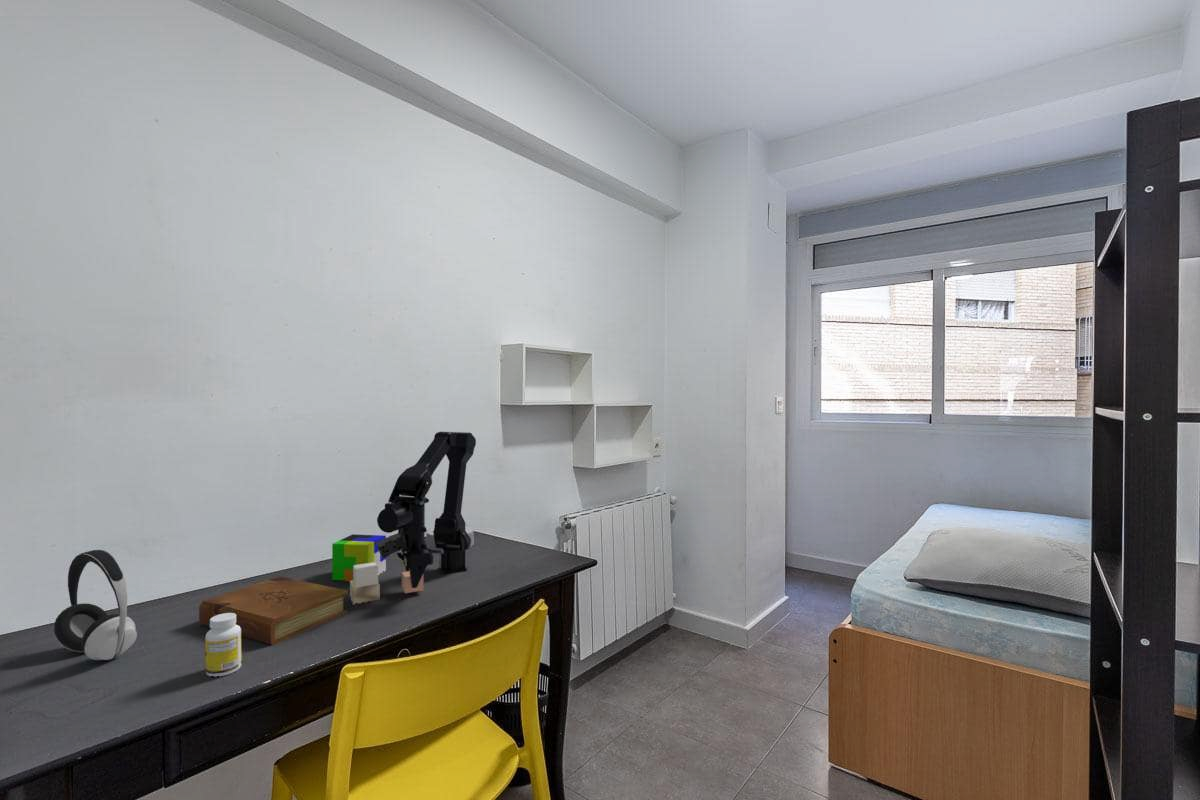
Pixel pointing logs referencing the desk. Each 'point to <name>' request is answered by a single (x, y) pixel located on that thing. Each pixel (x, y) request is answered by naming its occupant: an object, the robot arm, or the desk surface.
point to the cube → (407, 583)
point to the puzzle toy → (355, 555)
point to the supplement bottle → (223, 645)
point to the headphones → (96, 613)
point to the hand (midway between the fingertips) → (412, 584)
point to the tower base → (364, 593)
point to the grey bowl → (431, 543)
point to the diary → (276, 608)
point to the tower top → (365, 574)
